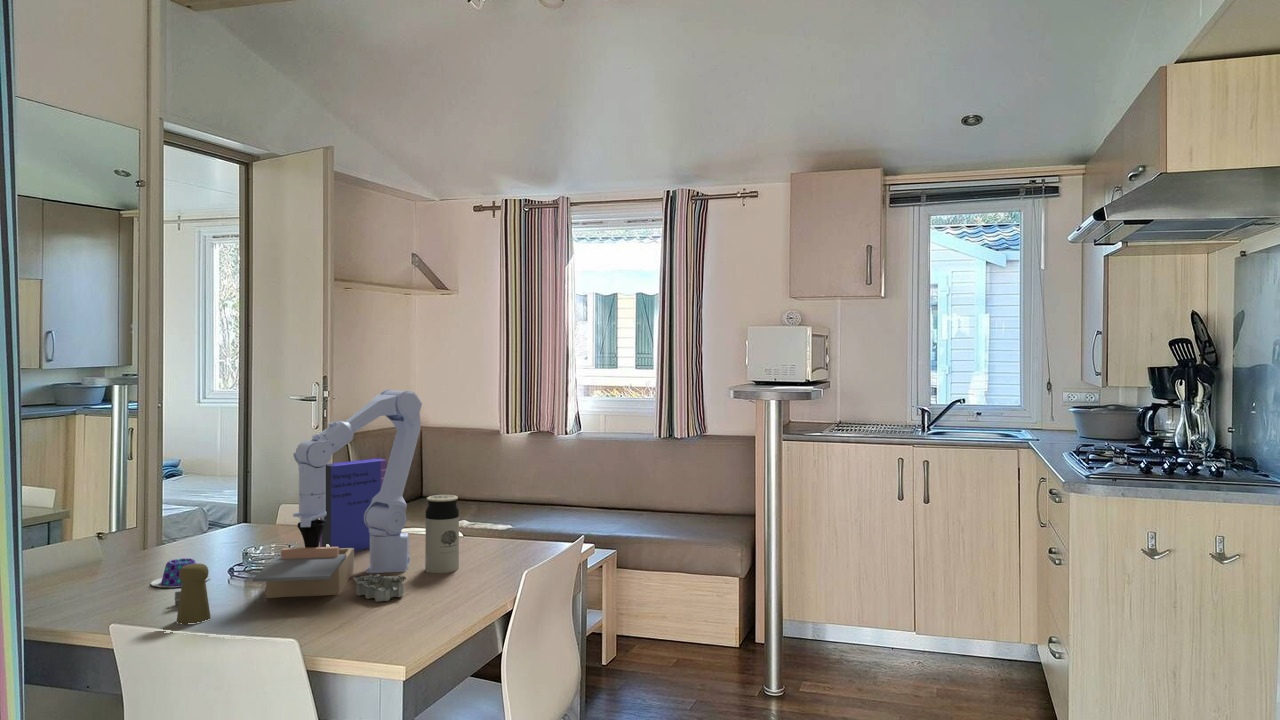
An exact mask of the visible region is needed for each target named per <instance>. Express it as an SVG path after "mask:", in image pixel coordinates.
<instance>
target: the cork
mask: <svg viewBox="0 0 1280 720" xmlns="http://www.w3.org/2000/svg"><path fill="white" fill-rule="evenodd" d="M208 576H209V567H208V566H207V565H206V564H204V563H196V564H189V565H185V566H183V567H182V568H181V569H180V571H179V578H180V581H181V582H182V587H180V588H181V589H180V591H181V594H180V601H179V606H178V608H177V614H176V621H177V622H178V623H182V624H188V623H197V622H202V621H205V620H208V619H210V618H211V611H210V605H209V597H208V596H209V595H208V590H207V584H206V582H207V580H206V579H207V577H208ZM205 580H206V581H205ZM210 620H211V619H210ZM208 621H209V620H208ZM177 622H176V623H177Z"/></svg>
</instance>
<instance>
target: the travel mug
mask: <svg viewBox="0 0 1280 720" xmlns="http://www.w3.org/2000/svg"><path fill="white" fill-rule="evenodd" d="M458 499H459V497H458V495H454V494H437V495H430V496H428V497H426V500H427V503H428V505H427V508H426V510H425V547H424V548H425V554H424V555H425V557H424V558H425V559H424V561H425V569H424V570H425V572H427V573H432V574H447V573H452V572H455V571H458V570H459V567H460V564H459V563H460V556H459V555H460V509H459V507H458V506H457V502H458Z"/></svg>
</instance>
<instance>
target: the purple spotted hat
mask: <svg viewBox="0 0 1280 720" xmlns="http://www.w3.org/2000/svg"><path fill="white" fill-rule="evenodd" d="M189 564H197V562H196V560H195V559H193V558H177V559H176V558H175V559H172V560H169V561H167V562H166V564H165V567H164V571H163V575H162V577H159V578H157V579H154V580H153V581H151V582H150V585H151V586H153V587H158V588H164V587H167V588H168V589H169V588H170V589H171V588H181V587H182V582H181V581H180V578H179V571H180V569H181V568H182V567H183V566H185V565H189ZM210 578H211V577H210V576H209V575H208V577H207V579H206V580H205V582H207V581H208V580H209V579H210ZM160 584H161V585H160Z"/></svg>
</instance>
